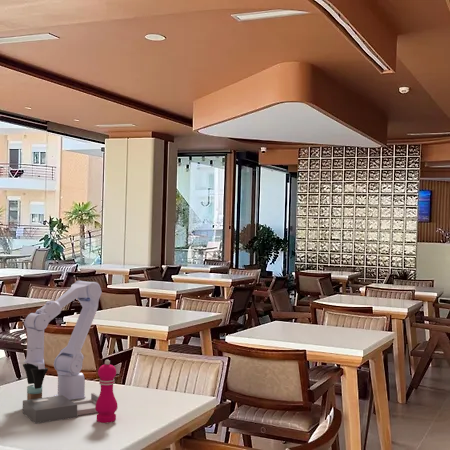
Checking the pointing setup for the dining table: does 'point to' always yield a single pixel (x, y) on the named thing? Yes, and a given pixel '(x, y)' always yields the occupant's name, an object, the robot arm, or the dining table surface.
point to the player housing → (49, 409)
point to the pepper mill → (106, 394)
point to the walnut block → (34, 396)
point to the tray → (87, 405)
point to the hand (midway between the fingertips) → (34, 385)
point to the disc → (33, 390)
